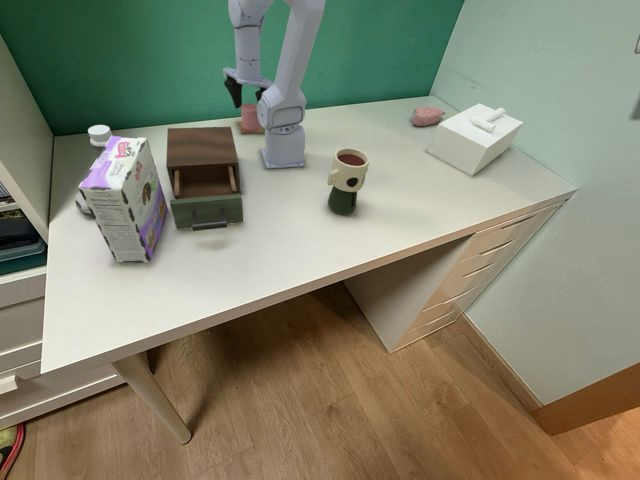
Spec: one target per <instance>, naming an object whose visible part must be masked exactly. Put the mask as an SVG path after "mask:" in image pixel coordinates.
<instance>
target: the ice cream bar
mask: <svg viewBox="0 0 640 480" xmlns="http://www.w3.org/2000/svg"><path fill="white" fill-rule="evenodd" d="M444 115H446V112H445V111H443V110H442V109H441V108H439V107H438V106H426V107H419V108H418V107H417V108H414V110H413V112H412V116H411V123H412V124H413V126H417V127H425V126H430V125H434V124H435V125H436V124H439V123H440V120H441V119H442V117H443V116H444Z"/></svg>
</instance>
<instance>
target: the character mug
mask: <svg viewBox="0 0 640 480" xmlns="http://www.w3.org/2000/svg"><path fill="white" fill-rule="evenodd" d="M370 159H371V158H370V157H369V155H368V154H367V153H366V151H363V150H362V149H359V148H355V147H349V146H348V147H347V146H345V147H340V148H339V149H337V150H335V152H334V154H333V158H332V165H331V170H330V171H329V173H328V177H327V186H332V188H331V190H330V193H329V196H328V198H327V199H328V200H327V205H328V207H329V208H330V209H331V210H332V211H333V212H334V213H336V214H340V215H349V214H350V212H351V211H352V212H353V213H354V211H355V210H356V208H357V199H358V192H359V191H360V190H361V189H362V188H363V187H364V185H365V182H366V174H367V173H368V170H369V165H370Z"/></svg>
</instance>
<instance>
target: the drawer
mask: <svg viewBox="0 0 640 480" xmlns="http://www.w3.org/2000/svg"><path fill="white" fill-rule="evenodd" d="M174 196H175V198H174V199H169V206H170V210H171V213H172V214H171V215H172V217H173V221H174V225H175V227H176V230H183V229H191V231H192V232H199V231H208V230H209V231H210V230H216V229H225V228H226V229H227V228H229V225H230V224H239V223H244V221H245V220H244V209H243V195H242V193H238V194H237V190H236V185H235V179H234V174H233V168H232V166H220V167H203V168H186V169H175V191H174V194H173V197H174Z"/></svg>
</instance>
